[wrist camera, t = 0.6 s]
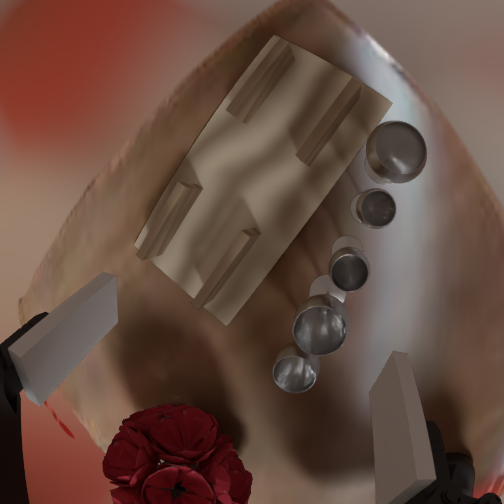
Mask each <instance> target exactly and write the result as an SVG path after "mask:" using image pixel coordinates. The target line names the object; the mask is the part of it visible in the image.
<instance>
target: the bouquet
mask: <svg viewBox="0 0 504 504" xmlns="http://www.w3.org/2000/svg"><path fill="white" fill-rule="evenodd" d="M122 425H123V426H120V427H119V430H120V432H119V433H117V434H116V435H115V436H114V438H113V440H112V443H111V444H110V445H109V447H108V450H107V453H106V456H105V457H104V460H103V463H102V464H103V472H104V475H105V477H107V478H108V479H111V480H112V481H111V482H110V483H112V484H115V485H117V486H120V487H118V488H116V489H113V490H110V491H111V498H112V500H113V503H114V504H248V499H249V496H250V494H251V485H252V480H253V478H252V474H251V473H250V472H248V471H247V470H245V468H244V465H243V463H242V460H241V459H239V457H238V454H237V453H236V451H235V449H232V448H233V447H234V443H233V438H231V437H230V436H228V435H225V434H221V433H220V426H219V424H218V422H217V421H216V419H215V418H214V417H213V415H212V414H211V413H210V412H203V411H202V410H200V409H197V408H195V407H193V406H190V405H186V404H181V405H178V406H175V405H172V404H164V405H163V406H157V407H152V408H149V409H145V410H144V411H139V412H136V413H134V414H132V415H130V417H129V418H126V419H125V420H124V419H123V421H122ZM160 459H162V460H164V461H165V462H163V463H162V464H161V462H160ZM198 462H199V465H198V467H196V464H197V463H198ZM158 463H160V465H158ZM194 464H195V465H194Z"/></svg>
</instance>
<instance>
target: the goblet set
mask: <svg viewBox="0 0 504 504" xmlns="http://www.w3.org/2000/svg"><path fill="white" fill-rule="evenodd" d="M426 159H427V148H426V144H425V141H424V139H423V137H422V135H421V134H420V132H419V131H418V130H417V129H416V128H415V127H413V126H412V125H410V124H408V123H406V122H402V121H388V122H384V123H382V124H380V125H379V126H377V127H376V128H375V129H374V130H373V131H372V132H371V134H370V135H369V138H368V140H367V144H366V159H365V169H366V172H367V174H368V176H369V177H370V178H371V179H372V180H373V181H374V182H376V183H379V184H383V185H387V184H391V183H405V182H409V181H411V180H413V179H414V178H416V177H417V176H418V175H419V174H420V173H421V171H422V170H423V168H424V166H425V163H426ZM351 214H352V216H353V217H354V219H355V220H356V221H357V222H359V223H361V224H364V225H365V226H367V227H369V228H373V229H381V228H384V227H386V226H388V225H389V224H390V223H391V222H392V221H393V219H394V217H395V215H396V204H395V201H394V199H393V197H392V196H391V195H390V194H389V193H388V192H387V191H385V190H383V189H379V188H372V189H368V190H366V191H365V192H362V193H360V194H358V195H356V196H355V197H354V198H353V200H352V202H351ZM331 252H332V257H331V259H330V262H329V267H328V271H329V274H326V275H322V276H319V277H318V278H316V279H315V280H314V281H313V282H312V284H311V286H310V290H309V295H310V298H308V299H306V300H305V301H304V302H303V303H302V304H301V305H300V306H299V308H298V309H297V311H296V313H295V316H294V320H293V326H292V335H293V337H294V339H295V342H292V343H289V344H287V345H286V346H285V347H283V348H282V349H281V350H280V352H279V353H278V354H277V356H276V358H275V361H274V365H273V372H272V375H273V379H274V381H275V383H276V384H277V386H278V387H280V388H281V389H282V390H284V391H286V392H289V393H302V392H305V391H307V390H308V389H310V388H311V387H312V386H313V384H314V383H315V381H316V379H317V377H318V375H319V372H320V357H319V356H326V355H329V354H332V353H334V352H336V351H337V350H338V349H339V348H340V347H341V346H342V345H343V343H344V342H345V340H346V338H347V335H348V332H349V327H350V319H349V314H348V311H347V309H346V307H345V306H344V304H343V302H344V300H345V298H346V292H354V291H357V290H359V289H361V288H362V287H363V286H364V285H365V284H366V282H367V280H368V278H369V274H370V264H369V261H368V258H367V256H366V255H365V254H364V253H363V247H362V244H361V242H360V241H359V240H358V239H357V238H355V237H353V236H350V235H345V236H341V237H339V238H338V239H337V240H336V241H335V242H334V244H333V246H332V251H331Z"/></svg>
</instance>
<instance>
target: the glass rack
mask: <svg viewBox="0 0 504 504" xmlns="http://www.w3.org/2000/svg"><path fill="white" fill-rule="evenodd" d="M391 105H392V102H390V101H389V100H387V99H386V98H384V97H383V96H382V95H380V94H379V93H377V92H376V91H374V90H373V89H371V88H370V87H368V86H367V85H365V84H363V83H362V82H360V81H359V80H357V79H356V78H354V77H352V76H351V75H349V74H347V73H346V72H344V71H342V70H341V69H339V68H337V67H336V66H334V65H332V64H330V63H329V62H327V61H325V60H323V59H321V58H320V57H318V56H316V55H314V54H312V53H310V52H308V51H306V50H304V49H303V48H301V47H299V46H297V45H295V44H293V43H290V42H288V41H286V40H284V39H282V38H280V37H278V36H276V35H273V37H272V38H271V39H270V40H269V42H268V43H267V44H266V45H265V46H264V48H263V49H262V50H261V51H260V53H259V54H258V55H257V56H256V58H255V59H254V60H253V62H252V63H251V64H250V65H249V67H248V68H247V69H246V71H245V72H244V73H243V75H242V76H241V77H240V79H239V80H238V81H237V83H236V84H235V85H234V87H233V88H232V89H231V91H230V92H229V94H228V95H227V96H226V98H225V99H224V100H223V102H222V103H221V105H220V106H219V108H218V109H217V110H216V112H215V113H214V115H213V116H212V118H211V119H210V120H209V122H208V123H207V125H206V126H205V128H204V129H203V131H202V132H201V134H200V135H199V137H198V138H197V140H196V141H195V143H194V144H193V146H192V147H191V149H190V151H189V152H188V154H187V155H186V157H185V158H184V160H183V162H182V163H181V165H180V166H179V168H178V170H177V171H176V173H175V174H174V176H173V178H172V179H171V181H170V183H169V184H168V186H167V188H166V189H165V191H164V193H163V194H162V196H161V198H160V199H159V201H158V203H157V205H156V206H155V208H154V210H153V212H152V213H151V215H150V217H149V219H148V220H147V222H146V224H145V226H144V228H143V229H142V231H141V233H140V235H139V237H138V239H137V241H136V242H135V244H134V246H135V247H136V248H138V249H139V250H138V252H137V254H136V255H137V256H138V257H139V258H140V259H141V260H146V259H149V260H151V261H152V262H153V263H154V264H155V265H156V266H157V267H158V268H159V269H161V270H162V271H163V272H164V273H165V274H166V275H167V276H168V277H169V278H171V279H172V280H173V281H174V282H175V283H176V284H177V285H179V286H180V287H181V288H182V289H183V290H184V291H185V292H187V293H188V294H189V295H190V296H191V297H192V298H194V299H193V301H192V302H191V304H192V305H193V306H194V307H195V308H196V309H197V310H199V309H200V308H202V307H204V308H205V309H207V310H208V311H209V312H210V313H211V314H212V315H214V316H215V317H216V318H217V319H218V320H220V321H221V322H222V323H223V324H225V325H226V326H228V324H229V323H230V322H231V321H232V319H233V318H234V317H235V316H236V314H237V313H238V312H239V310H240V309H241V308H242V307H243V305H244V304H245V303H246V301H247V300H248V299H249V298H250V296H251V295H252V294H253V292H254V291H255V290H256V288H257V287H258V286H259V285H260V283H261V282H262V281H263V279H264V278H265V277H266V275H267V274H268V273H269V272H270V270H271V269H272V268H273V266H274V265H275V264H276V262H277V261H278V260H279V258H280V257H281V256H282V254H283V253H284V252H285V250H286V249H287V248H288V247H289V245H290V244H291V243H292V241H293V240H294V239H295V237H296V236H297V235H298V233H299V232H300V231H301V229H302V228H303V227H304V225H305V224H306V223H307V221H308V220H309V219H310V217H311V216H312V214H313V213H314V212H315V210H316V209H317V208H318V206H319V205H320V204H321V202H322V201H323V200H324V198H325V197H326V196H327V194H328V193H329V191H330V190H331V189H332V187H333V186H334V185H335V183H336V182H337V181H338V179H339V178H340V176H341V175H342V174H343V172H344V171H345V170H346V168H347V167H348V165H349V164H350V163H351V161H352V160H353V159H354V157H355V156H356V154H357V153H358V152H359V150H360V149H361V147H362V146H363V145H364V143H365V142H366V140H367V139H368V138H369V135H370V134H371V132H372V131H373V130H374V129H375V128H376V126H377V125H378V124H379V122H380V121H381V119H382V118H383V116H384V115H385V114H386V112H387V111H388V109H389V108H390V107H391Z"/></svg>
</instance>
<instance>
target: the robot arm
mask: <svg viewBox="0 0 504 504" xmlns="http://www.w3.org/2000/svg"><path fill="white" fill-rule="evenodd" d="M117 323H118V313H117V292H116V276H114V275H111V274H108V273H105V272H103V273H101V274H100V275H99V276H97V277H96V278H95V279H93V280H92V281H91V282H89V283H88V284H87V285H85V286H84V287H83V288H81V289H80V290H79V291H78V292H76V293H75V294H74V295H72V296H71V297H70V298H68V299H67V300H66V301H65V302H63V303H62V304H61V305H60V306H58V307H57V308H56V309H55V310H53V311H52V312H51V313H50V314H49V313H47V312H44V313H41V314H39V315H36V316H34V317H33V318H32V319H31V320H29V321H28V322H27V324H24V325H23V326H22V327H21V329H20V328H19V329H18V330H17V331H16V332H15V333H13V334H12V335H11V336H10V337H9V338H8V339H6V340H5V341H4V342H3V343H1V344H0V504H29V499H28V493H27V486H26V480H25V470H24V461H23V451H22V435H21V398H20V394H19V393H20V391H21V390H22V389H24V391H25V394H26V396H27V398H28V399H30V400H31V401H33V402H34V403H36V404H37V405H38V406H41V405H42V404H43V403H44V402H45V401H46V399H47V398H48V397H49V396H50V395H51V394H52V393H53V392H54V390H55V389H56V388H57V387H58V386H59V385H60V384H61V383H62V382H63V381H64V379H65V378H66V377H67V376H68V375H69V374H70V373H71V372H72V371H73V370H74V368H75V367H76V366H77V365H78V364H79V363H80V362H81V361H82V360H83V359H84V358H85V357H86V355H87V354H88V353H89V352H90V351H91V350H92V349H93V348H94V347H95V346H96V345H97V344H98V343H99V342H100V341H101V340H102V338H103V337H104V336H105V335H106V334H107V333H108V332H109V331H110V330H111V329H112V328H113V327H114V326H115V325H116V324H117ZM369 394H370V404H371V415H372V428H373V442H374V460H375V488H376V504H502V502H501V499H500V498H499V497H498V495H496V494H494V493H487V494H484V495H483V496H482V497H480V498H479V499H477V498H473V490H474V481H475V469H474V466H473V463H472V461H471V459H470V458H469V457H467V456H465V455H462V454H456V453H452V454H445V452H444V450H445V449H444V445H443V444H442V442H443V440H442V436H441V432H440V430H439V428H438V427H437V425H436V424H435V422H434V421H425V418H424V414H423V409H422V405H421V401H420V397H419V393H418V389H417V386H416V382H415V378H414V375H413V371H412V367H411V364H410V361H409V357H408V354H407V353H402V352H396V351H393V352H392V354H391V356H390V357H389V359H388V361H387V363H386V365H385V366H384V368H383V370H382V372H381V373H380V375H379V377H378V379H377V380H376V382H375V384H374V385H373V387H372V389H371V390H370V392H369Z"/></svg>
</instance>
